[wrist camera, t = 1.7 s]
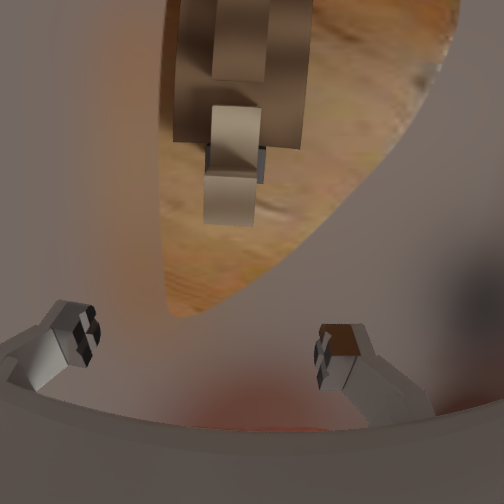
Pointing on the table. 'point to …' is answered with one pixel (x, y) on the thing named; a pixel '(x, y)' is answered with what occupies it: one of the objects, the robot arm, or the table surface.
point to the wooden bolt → (232, 166)
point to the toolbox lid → (242, 66)
